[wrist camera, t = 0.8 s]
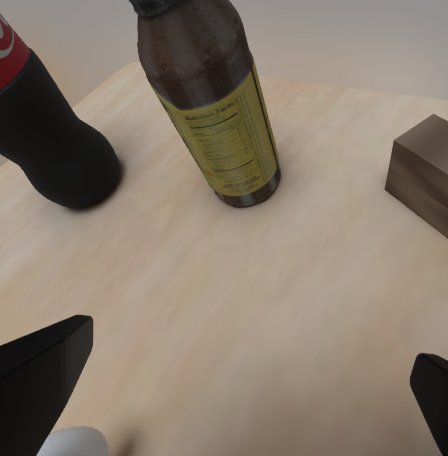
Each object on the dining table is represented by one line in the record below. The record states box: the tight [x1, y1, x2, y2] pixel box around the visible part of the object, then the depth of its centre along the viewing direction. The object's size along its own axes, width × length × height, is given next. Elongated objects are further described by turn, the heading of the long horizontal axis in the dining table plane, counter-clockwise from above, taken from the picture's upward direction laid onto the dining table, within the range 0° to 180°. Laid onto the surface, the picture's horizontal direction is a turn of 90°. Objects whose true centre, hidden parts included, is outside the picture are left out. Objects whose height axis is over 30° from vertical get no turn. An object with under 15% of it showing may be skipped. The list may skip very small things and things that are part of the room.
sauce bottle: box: [129, 0, 280, 207], centre depth 20 cm, size 6×6×20 cm
